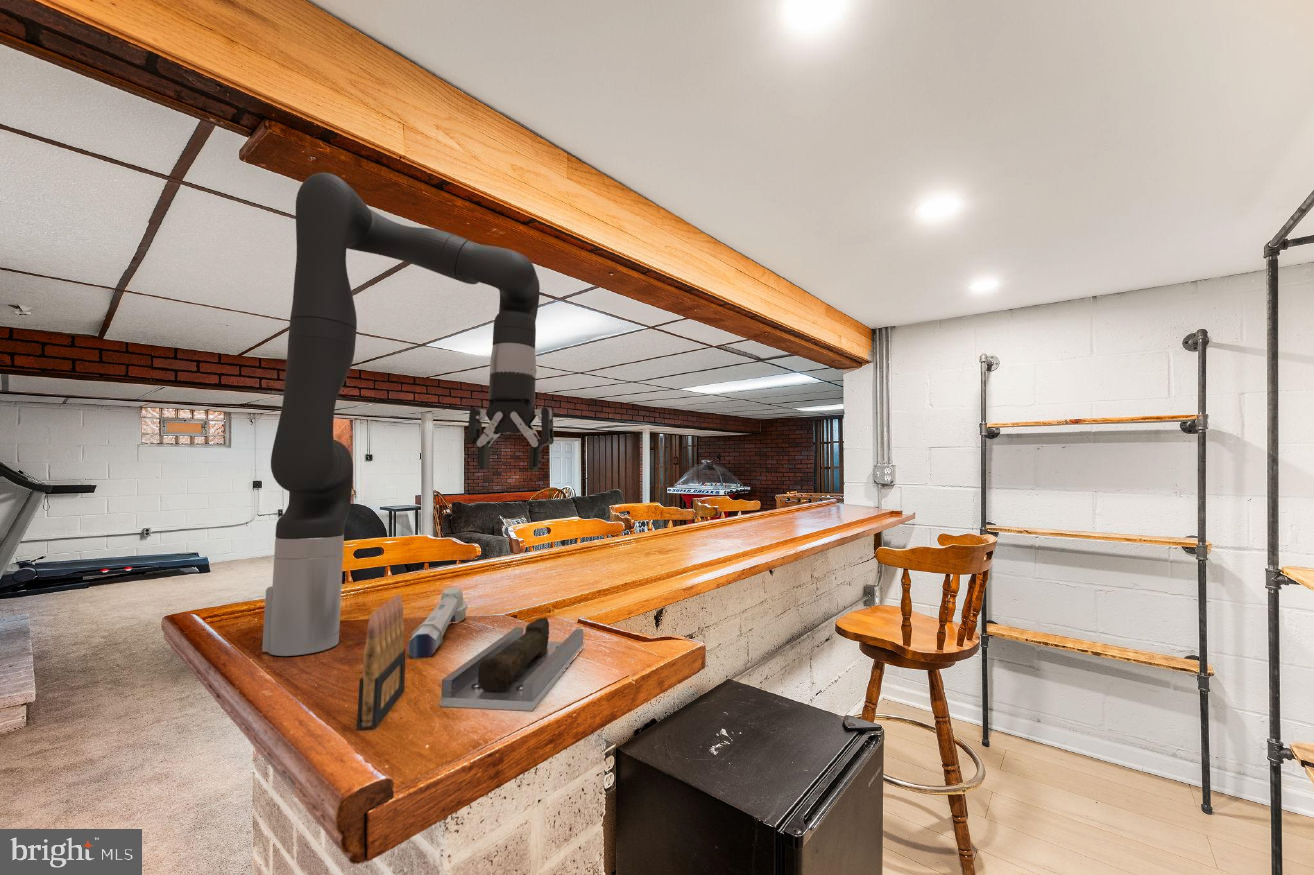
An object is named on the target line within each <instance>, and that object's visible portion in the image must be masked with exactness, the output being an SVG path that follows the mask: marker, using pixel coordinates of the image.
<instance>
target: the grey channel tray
mask: <svg viewBox="0 0 1314 875" xmlns="http://www.w3.org/2000/svg"><path fill="white" fill-rule="evenodd" d="M523 635H524V626H521V627H520V626H516V627H514V628H513V629H511V630H510V631H508V632H507V633H505V634H504V635H503V636H501V637H500V638H499V639H498V638H497V640H496V641H494V642H492V643H491V644H490V645H489V646H487V647H486V648H484V649H483V650H482V651H480V652H479V653H477V654H476V655H475V656H473V657H472V658H470V659H469V660H467V661H466V662H464V663H463V664H461V666H458V667H457V668H456V669H455V670H453V671H451V673H449V674H448V675H446V676H445V677H443V678H442V679H441V691H440V692H441V695H440V696H441V697H440V707H444V708H445V707H448V708H465V709H466V708H468V709H485V710H487V709H488V710H507V711H526V712H533V711H534V710H535V709H536V708H537V706H539V704H540V703H541V702H542V700H543V699H544V698H545V697H546V696H547V695H548V693H549V692H550V691H551V690H552V689H553V687H554V686H555V684H556V683H557V682H558V681H559V680H560V678H561V677H562V676H563V675H564V673H565V672H564V670H566V668H567V666H568V665H569V664H570V663H571V661H572V660H573V659H574V657H575V656H576V654H577V653H578V652H579V651H580V649H582V647H583V646H584V643H585V642H584V629H583V628H575V629H574V631H573V632H571V634H569V635H568V637H566V639H565V640H563V641H558V640H557V641H556V640H555V641H552V640H548V646H547V649H546V651H545V653H544V655H543V656H541V657H534V658H533V659H532V660H531V661H530V662H529V663H527V666H525V667H523V668H522V669H521V670H520V671H519V672H518V673H517V674H515V675H514V676H513V678H512V680H511V683H510V684H509V685H508V686H507V688H505V689H504V690H499V691H484V690H482V688H481V686H480V685H479V683H478V668H479V666H480V663H481V661H482V660H486V659H490V658H491V657H493V656H495V655H496V654H498V653H499V652H501V651H502V650H503V649H504V648H506V647H507V646H509V645H510V644H512V643H513V642H514V641H516V640H517V639H518V638H520V637H521V636H523ZM566 671H567V670H566ZM563 672H564V673H563ZM562 674H563V675H562ZM561 675H562V676H561ZM560 676H561V677H560ZM559 677H560V678H559ZM558 679H559V680H558ZM557 680H558V681H557Z"/></svg>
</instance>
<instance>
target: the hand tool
mask: <svg viewBox="0 0 1314 875" xmlns="http://www.w3.org/2000/svg"><path fill="white" fill-rule="evenodd" d="M549 639H550V622H549V619H548V618H547V617H546V616H545V617H540V618H537V619H535V620H534V621H531V622H529V623H528V624H527V625H526V626H525V632H524V633H523V636H521V637H520V638H518V639H517V640H516V641H514V642H513V643H512V644H510V645H509V646H507V647H506V648H504V649H503V650H502V651H501V652H499V653H498V654H496V655H495V656H493V657H491V658H490V659H486V660H482V661H481V663H480V666H479V668H478V683H479V685H480V686H481V688H482V690H484V691H499V690H504V689H505V688H507V686H508V685H509V684H510V683H511V680H512V678H513V676H514V675H515V674H517V673H518V672H519V671H520V670H521V669H522V668H523V667H525V666H527V663H529V662H530V661H531V660H532V659H533V658H534V657H541V656H543V655H544V653H545V651H546V649H547V646H548V641H549Z"/></svg>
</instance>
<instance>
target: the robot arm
mask: <svg viewBox="0 0 1314 875" xmlns="http://www.w3.org/2000/svg"><path fill="white" fill-rule="evenodd" d="M295 236H296V239H295V242H296V258H295V259H296V261H295V270H294V282H293V293H292V306H291V310H290V311H291V312H290V317H289V318H290V319H289V327H288V337H287V353H286V354H287V356H286V364H285V375H284V385H283V386H284V387H283V398H282V405H281V410H280V414H279V420H278V423H277V428H276V431H275V438H274V441H273V445H272V451H271V455H270V456H271V457H270V469H271V470H270V471H271V473H272V477H273V479H274V480H275V482H276V483H277V484H278V485H279V486H280V487H281V488H283V489H284V490H286V491H287V492H290V493H289V501H288V504H287V508H286V510H285V512H284V513H283V514H282V515H281V516H280V517H279V518H278V520H277V522H276V525H275V536H274V537H275V539H274V540H275V541H274V554H273V557H274V558H273V569H272V570H273V571H272V584H271V586H269V587H267V588H266V590H265V601H264V612H263V613H264V615H263V632H262V646H261V648H262V650H261V652H262V653H263V652H264V653H268V654H269V655H273V656H279V657H289V656H301V655H308V654H314V653H319V652H323V651H326V650H329V649H331V648H333V647H335V646H337V645H339V642H340V639H339V638H340V625H341V624H340V623H341V622H340V621H341V605H342V604H341V603H342V584H343V582H342V581H343V562H344V561H343V560H344V543H345V542H344V540H345V526H346V523H347V520H348V517H349V515H350V510H351V501H352V494H353V493H352V492H353V482H354V478H353V477H354V462H353V458H352V455H351V452H350V450H349V449H348V447H347V446H346V445H345V444H343V443H342V442H341V441H339V440H337V439H334V419H335V409H336V405H337V404H336V403H337V400H338V397H339V394H340V392H341V390H342V388H343V385H344V383H345V381H346V379H347V378H348V375H349V372H350V370H351V367H352V364H353V362H354V359H355V358H354V357H355V352H356V342H357V329H358V328H357V327H358V326H357V325H358V320H357V319H358V318H357V311H356V305H355V301H354V295H353V292H352V288H351V283H350V280H349V275H348V268H347V250H351V251H352V250H353V251H357V252H362V253H367V254H368V253H369V254H375V255H378V256H381V257H386V258H390V259H395V260H398V261H401V262H405V263H409V264H412V265H415V266H417V267H420V268H423V269H426V270H429V271H431V272H433V273H436V274H438V275H439V274H440V275H441V276H445V277H447V278H450V279H452V280H455V281H459V282H461V283H464V284H467V285H477V284H479V283H481V284H484V285H488V286H490V287H493V288H496V289H497V290H498V291H499V306H498V307H499V309H498V314H496V315H495V317H494V320H493V329H492V330H493V331H492V348H491V354H490V360H489V361H490V362H489V379H488V380H489V384H488V406H487V408H486V409H485V408H484V409H483V408H477V407H475V406H474V407H471V408H470V409H469V416H468V425H467V433H466V442H468V444H472V445H475V446H476V447H477V458H476V459H477V462H476V465H477V466H478V467H479V469H480V471H489V470H490V467H491V466H490V464H491V448H490V446H491V445H492V443H493V442H494V441H495V440H496V439H497V438H499V436H500V435H501V434H502V435H511V434H514V435H523V437H525V438H526V439H527V441H528V442H529V444H530V445H531V447H529V457H528V458H529V459H528V463H529V464H528V469H529V470H528V471H530V472H531V471H532V472H538V469H539V468H541V466H542V455H543V454H542V452H543V448H544V447H546V446H548V445H549V446H550V445H552V444H554V440H555V439H554V434H555V433H554V411H553V410H552V409H551V408H548V407H542V408H537V409H536V407H535V401H536V380H537V359H536V340H537V339H536V337H537V336H536V335H537V329H536V321H537V316H538V315H537V314H538V310H539V302H540V292H541V291H540V290H541V289H540V288H541V287H540V280H539V277H538V275H537V271H536V270H535V266H534V264H533V263H532V261H531V259H529V258H528V257H526V256H525V255H524V254H522V253H519V252H517V251H515V250H514V249H513V250H512V249H509V248H506V247H499V246H494V245H490V244H489V245H488V244H479V243H477V242H475V241H473V240H469V239H467V238H464V237H461V236H458V235H456V234H453V233H451V232H447V231H444V230H441V229H436V228H429V227H416V226H409V225H404V224H401V223H399V222H396V221H393V220H391V219H388V218H386V217H385V216H383V215H381V214H379V213H378V212H375V211H374V210H372V209H370V208H369V206H367V204H366V203H365V201H363V199H362V198H361V197H360V196H359V195H358V194H357V192H356V191H355V190H354V189H353V188H352V187H351V186H350V185H349V184H348V183H347V182H346V181H345V180H343V179H342V178H340V177H339V176H337V175H336V174H333V173H329V172H317V173H313V174H312V175H310V176H308V177H307V178H306V179H305V180H304V181H303V182H302V184H301V185H300V187H299V189H298V191H297V194H296V199H295ZM486 418H487V419H488V420H489V423H488V425H487V426H486V427H485V429H483V433H482V427H483V422H484V421H485V419H486ZM536 418H537V419H538V420H539V421H540V422H541V424H540V425H541V427H540V428H541V437H539V435H538V432H537V430H535V428H534V426H533V425H532V424H533V422H534V420H536Z"/></svg>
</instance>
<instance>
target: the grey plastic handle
mask: <svg viewBox="0 0 1314 875" xmlns="http://www.w3.org/2000/svg"><path fill="white" fill-rule="evenodd" d="M440 597H441V598H440V602H439V603H438V604H437V606H435V608H434V609H433V610H432V612H431V613H430V614H429V615H428V616H427V618H426V619H425V620H424V621H423V623H420V624H419V626H417V627H416V628H415V629H414V630H413V631H412V633H411V638H410V639H409V641H408V642H407V654H408V655H409V656H410V657H412V658H413V659H426V658H430V657H431V656H432V655H433V654H434V653H435V652H436V650H437V649H438V647H440V646H441V645H442V643H443V636H444V634H445V633H446V630H447V628H448V626H449V625H450V624H449V622H457V621H460V620H463V619H464V618H465V619H466V612H467V609H468V603H467V601H465V600H464V593H463V590H462V588H461V587H458V586H452V587H447V588H445V589H443V591H442V594H441V596H440ZM460 622H461V621H460Z"/></svg>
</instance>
